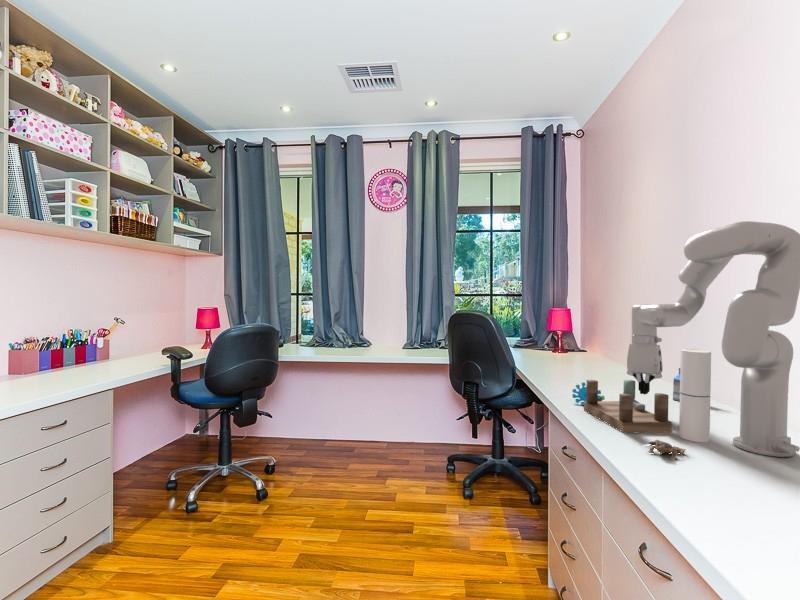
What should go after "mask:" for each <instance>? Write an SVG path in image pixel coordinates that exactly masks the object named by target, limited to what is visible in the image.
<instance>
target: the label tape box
mask: <svg viewBox="0 0 800 600" xmlns="http://www.w3.org/2000/svg"><path fill="white" fill-rule="evenodd" d="M672 385H673V387H672V401H676V402H680V367H679V368H678V374H677V375H676V376H675V377H673V384H672Z"/></svg>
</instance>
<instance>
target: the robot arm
mask: <svg viewBox="0 0 800 600" xmlns="http://www.w3.org/2000/svg"><path fill="white" fill-rule="evenodd" d="M683 254H684V257H685V258H686V260H688V261H687V263H686V264H685V265H684V267H683V268H682V269H681V270H680V272H679V273H678V280H679V281H680V282H681V283H682V284H683V285H684V287H685V289H684V291H683V293H682V294H681V296H680V297H679V298H678V300H677V301H676V302H675V303H664V304H663V303H659V304H634V305H633V306H632V307H631V343H629V344H628V348H627V350H628V351H627V358H626V361H627V362H626V369H627V370H626V374H627V375H629V376H632V377H634V379H636V381H637V382H638V392H639V394H641V395H648V394H649V392H650V389H651V388H650V387H651V386H650V383H651V382H652V381H653V380H655V379H662V378H663V375H662V373H663V357H662V349H661V345H660V344H658V343H661V342H662V340H663V339H662V337H659V336H658V332H657V331H658V329H657V328H671V327H672V328H675V327H682V326H685V325H687V324H689V323H690V322H691V321H692V320H693V319H694V318H695V316H696V315H697V314H698V313H699V312H700V311H701V309H702V308H703V306H704V305H705V301H706V297H707V289H708V288H709V287H710V285H711V284H712V283H713V282H714V281H715V279H716V278H718V276H719V275H720V273H721V272H723V270H724V269H725V268H726V267H727V266H728V264H729V263H730V262H731V260H732V259H733V258H734V257H735V256H739V255H752V256H753V255H759V256H760V255H761V256H763V257H765V260H764V262H763V263H762V264H761V266H760V269H759V272H758V274H757V280H756V281H757V282H756V285H755V289H747V290H744V291H741V292H739V293H738V294H737V295H735V296H734V297H733V299H732V300H731V301H730V303H729V306H728V308H727V313H726V319H725V323H724V329H723V335H722V339H721V353H722V355H723V357H724V358H725V360H726V361H727V362H728V363H729V364H731V365H732V366H734V367H737V368H742V370H743V371H742V375H741V379H740V380H741V381H740V413H739V414H740V424H739V435H738V436H735V437H733V438H732V444H733V445H734V446H736V447H737V448H739V449H741V450H744V451H747V452H749V453H754V454H757V455H758V454H759V455H762V456H763V455H764V456H769V457H778V458H787V457H788V458H789V457H793V456H795V454H796V453H797V452H799V451H800V447H799V446H798V445H795V444H794V443H793V444H792V442H791V441H792V438H791V437H790V436H788V408H789V407H788V406H789V405H788V403H789V402H788V401H789V382H790V381H789V379H790V371H791V367H792V363H793V358H794V346H793V344H792V342H791V340H790V339H789V338H788V337H787V336H786V335H785V334H783V333H781V332H779V331H777V330H776V331H775V330H770V329H769V328H770V327H773V326H774V327H776V326H777V327H778V326H782V325H786V324H787V323H790V322H791V321H792V319H793V318H794V316H795V314H796V310H797V305H798V299H799V295H800V233H799V232H798V231H796V230H795V229H793V228H791V227H789V226H786V225H783V224H779V223H772V222H761V221H751V220H750V221H745V220H743V221H737V222H733V223H730V224H727V225H724V226H719V227H716V228H713V229H708V230H706V231H702V232H699V233H696V234H695V235H692V236H691V237H690V238H689V239H688V240H687V241H686V242H685V244H684V247H683ZM644 374H645V377H644Z"/></svg>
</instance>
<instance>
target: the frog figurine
mask: <svg viewBox="0 0 800 600" xmlns="http://www.w3.org/2000/svg"><path fill="white" fill-rule="evenodd" d="M648 444H651V445H655V446H650V447H649V448H650V449H648V451H647V452H649V453H654V452H655V451H653V450H654V448H655V449H657V451H658V452H657V453H659V452H660V453H662V454H669V453H671V452H672V453H673V454H672V455H669V458H672V459H677V452H678V453H680V454H684V455H685V453H686V454H687V449H686V448H682V447H678V446H675V445H674V446H672V444H670V443H669V442H665V441H663V440H659V439H655V440H651V441H650V442H648ZM684 452H685V453H684ZM662 454H661V455H662ZM680 454H679V455H680ZM672 459H671V460H672Z"/></svg>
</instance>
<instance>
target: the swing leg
mask: <svg viewBox="0 0 800 600" xmlns="http://www.w3.org/2000/svg"><path fill="white" fill-rule="evenodd" d="M622 394H630V395H633V407H634V408H636V410H638V411H645V410H646V404H644V403H641V402H639V401H638V400H636V380H633V379H623V393H622Z"/></svg>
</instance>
